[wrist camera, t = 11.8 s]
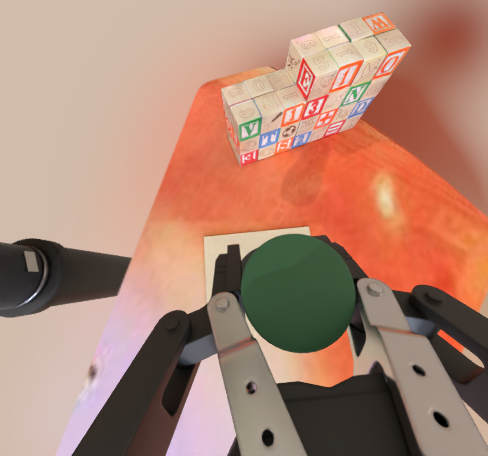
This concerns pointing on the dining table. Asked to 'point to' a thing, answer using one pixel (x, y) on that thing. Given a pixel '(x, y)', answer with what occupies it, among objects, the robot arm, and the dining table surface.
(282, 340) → the green cylinder with base
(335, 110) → the stack of blocks
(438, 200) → the dining table surface
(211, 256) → the napkin
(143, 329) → the dining table surface
